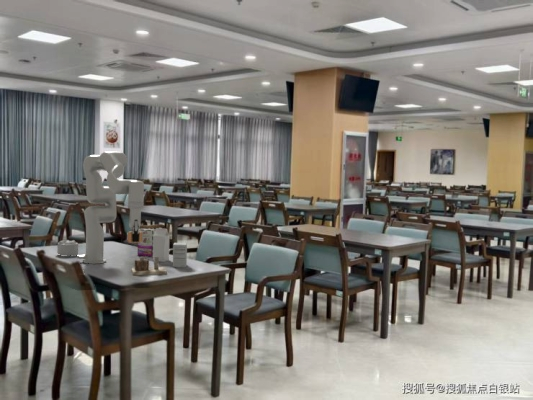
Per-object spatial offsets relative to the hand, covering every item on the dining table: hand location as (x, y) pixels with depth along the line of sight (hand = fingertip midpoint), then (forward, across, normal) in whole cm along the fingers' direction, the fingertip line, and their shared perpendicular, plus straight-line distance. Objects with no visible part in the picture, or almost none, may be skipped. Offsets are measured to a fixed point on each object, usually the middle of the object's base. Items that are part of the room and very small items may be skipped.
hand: (134, 240), depth 267 cm
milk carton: (+18, -39, +18) cm, 46 cm away
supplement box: (+18, -21, +26) cm, 38 cm away
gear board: (+18, -6, +8) cm, 20 cm away
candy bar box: (+18, -57, +11) cm, 61 cm away
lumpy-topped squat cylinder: (+18, -64, -36) cm, 76 cm away
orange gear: (+1, 0, 0) cm, 1 cm away
